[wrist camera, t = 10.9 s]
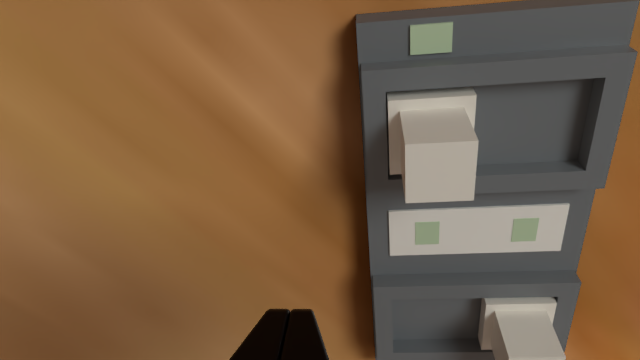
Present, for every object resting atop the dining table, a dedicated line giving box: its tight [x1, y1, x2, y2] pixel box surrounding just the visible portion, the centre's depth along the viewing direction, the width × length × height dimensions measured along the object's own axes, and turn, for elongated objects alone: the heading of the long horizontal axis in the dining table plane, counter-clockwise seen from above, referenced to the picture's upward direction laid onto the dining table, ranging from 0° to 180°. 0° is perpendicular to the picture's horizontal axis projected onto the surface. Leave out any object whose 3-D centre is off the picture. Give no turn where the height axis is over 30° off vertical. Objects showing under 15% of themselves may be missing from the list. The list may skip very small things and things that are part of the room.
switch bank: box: [356, 0, 640, 360], centre depth 21 cm, size 18×9×2 cm, turn 6°
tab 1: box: [387, 87, 479, 203], centre depth 17 cm, size 3×3×3 cm
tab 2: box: [478, 297, 566, 360], centre depth 22 cm, size 3×3×3 cm
